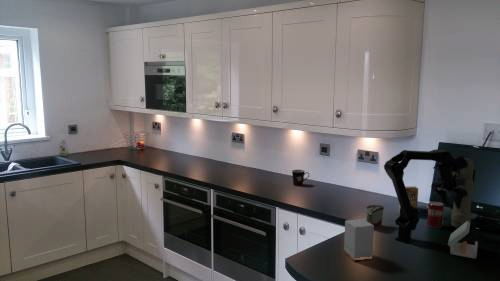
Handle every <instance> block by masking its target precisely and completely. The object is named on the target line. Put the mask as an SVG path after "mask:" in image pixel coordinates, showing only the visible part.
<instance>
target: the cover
mask: <svg viewBox="0 0 500 281" xmlns="http://www.w3.org/2000/svg"><path fill="white" fill-rule="evenodd" d="M470 226H471V222H469V221H467V222H465V223H464V224H463V225H462V226H460V227H459V228H456V229H455V230H454V231H453V232H452V233H451V234H450V236H449V239H448V243H447V245H448V246H449V247H450V248H451V246H453V245H454V244H455V243H457V242H458V243H459V241H461V240H462V239H463V238H464V237H465V236H467V235H468V234H469V233H470V229H471V228H470Z"/></svg>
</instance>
